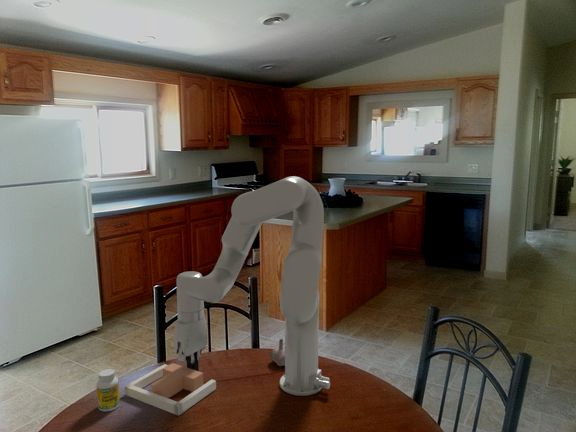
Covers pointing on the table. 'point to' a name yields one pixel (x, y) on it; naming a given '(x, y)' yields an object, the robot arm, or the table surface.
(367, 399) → the table surface
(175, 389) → the t block
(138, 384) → the frame
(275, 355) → the garlic bulb
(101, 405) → the supplement bottle
